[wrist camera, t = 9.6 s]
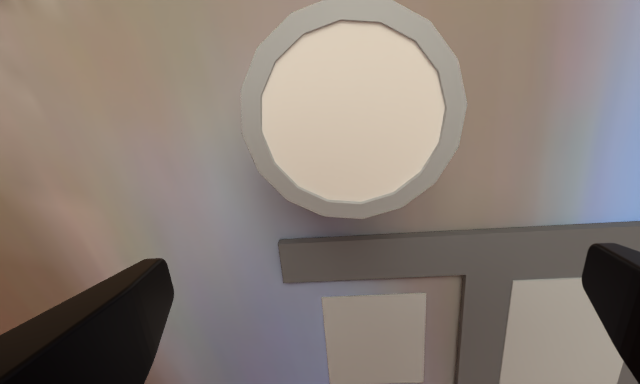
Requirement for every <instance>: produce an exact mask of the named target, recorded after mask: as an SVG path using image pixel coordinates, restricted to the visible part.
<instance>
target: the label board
mask: <svg viewBox="0 0 640 384" xmlns="http://www.w3.org/2000/svg"><path fill="white" fill-rule="evenodd" d="M594 243H617V244H620V245H622V246H625V247H628V248H631V249H634V250H637V251H639V252H640V221H631V222H611V223H592V224H573V225H553V226H534V227H514V228H495V229H475V230H456V231H437V232H417V233H398V234H378V235H359V236H339V237H320V238H301V239H281V240H279V243H278V247H279V254H280V261H281V268H282V275H283V283H295V282H318V281H340V280H363V279H385V278H408V277H430V276H453V275H463V283H462V297H461V310H460V323H459V337H458V350H457V363H456V377H455V384H638V382H637V381H636V379H635V378H634V376H633V375H632V373H631V372H630V370H629V369H628V367H627V366H626V364H625V363H624V361H623V360H622V358H621V356H620V355H619V353H618V351H617V350H616V348H615V346H614V345H613V343H612V341H611V339H610V337H609V335H608V334H607V332H606V330H605V328H604V326H603V324H602V322H601V320H600V319H599V317H598V315H597V313H596V311H595V309H594V307H593V306H592V304H591V302H590V300H589V298H588V296H587V294H586V292H585V291H584V288H583V286H582V273H583V268H584V264H585V260H586V256H587V251H588V249H589V247H590V246H591V245H592V244H594ZM322 307H323V318H324V328H325V338H326V349H327V359H328V370H329V380H330V384H386V383H421V382H423V381H424V350H425V318H426V293H405V294H382V295H358V296H334V297H322Z"/></svg>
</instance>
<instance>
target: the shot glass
mask: <svg viewBox="0 0 640 384" xmlns="http://www.w3.org/2000/svg"><path fill="white" fill-rule="evenodd" d="M466 108H467V100H466V95H465V90H464V85H463V81H462V76H461V71H460V66H459V61H458V58H457V57H456V56H455V54H454V53H453V51H452V50H451V49H450V47H449V46H448V45H447V43H446V42H445V41H444V39H443V38H442V36H441V35H440V34H439V32H438V31H437V30H436V28H435V27H434V25H433V24H432V23H431V21H430V20H428V19H426V18H424V17H422V16H420V15H419V14H417V13H415V12H413V11H411V10H409V9H408V8H406V7H404V6H402V5H400V4H398V3H397V2H395V1H393V0H322V1H320V2H317V3H315V4H312V5H310V6H307V7H304V8H302V9H299V10H297V11H294V12H292V13H291V14H290V15H289V16H288V17H287V18H286V19H285V20H284V21H283V22H282V23H281V24H280V25H279V26H278V27H277V28H276V29H275V30H274V31H273V32H272V33H271V34H270V35H269V36H268V37H267V38H266V39H265V40H264V41H263V42H262V43H261V44H260V45H259V46H258V47H257V50H256V52H255V55H254V57H253V60H252V62H251V65H250V67H249V70H248V73H247V75H246V78H245V80H244V83H243V85H242V88H241V122H242V135H243V138H244V140H245V142H246V144H247V147H248V149H249V151H250V154H251V156H252V158H253V161H254V163H255V165H256V167H257V170H258V172H259V173H260V174H261V175H262V176H263V177H264V178H265V179H266V180H267V181H268V182H269V183H270V184H271V185H272V186H273V187H274V188H275V189H276V190H277V191H278V192H279V193H280V194H281V195H282V196H283V197H284V198H285V199H286V200H287V201H290V202H292V203H294V204H296V205H299V206H301V207H303V208H305V209H308V210H310V211H312V212H314V213H317V214H319V215H321V216H324V217H339V218H355V219H365V218H368V217H372V216H375V215H379V214H382V213H385V212H389V211H392V210H396V209H399V208H402V207H403V206H405V205H406V204H408V203H409V202H410V201H412V200H413V199H414V198H416V197H417V196H418V195H420V194H421V193H423V192H424V191H425V190H427V189H428V188H429V187H431V186H432V185H433V184H435V183H436V181H437V180H438V178H439V177H440V175H441V174H442V172H443V170H444V169H445V167H446V166H447V164H448V163H449V161H450V160H451V158H452V157H453V155H454V154H455V152H456V151H457V149H458V147H459V143H460V138H461V133H462V128H463V123H464V118H465V113H466Z"/></svg>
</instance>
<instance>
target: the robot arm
mask: <svg viewBox="0 0 640 384" xmlns="http://www.w3.org/2000/svg"><path fill="white" fill-rule="evenodd" d="M582 286H583V288H584V291H585V292H586V294H587V296H588V298H589V300H590V302H591V304H592V306H593V307H594V309H595V311H596V313H597V315H598V317H599V319H600V320H601V322H602V324H603V326H604V328H605V330H606V332H607V334H608V335H609V337H610V339H611V341H612V343H613V345H614V346H615V348H616V350H617V351H618V353H619V355H620V356H621V358H622V360H623V361H624V363H625V364H626V366H627V367H628V369H629V370H630V372H631V373H632V375H633V376H634V378H635V379H636V381H637V382H638V384H640V252H639V251H637V250H634V249H631V248H628V247H625V246H622V245H620V244H617V243H594V244H592V245H591V246H590V247H589V249H588V251H587V256H586V260H585V264H584V268H583V273H582ZM173 298H174V289H173V285H172V281H171V277H170V273H169V269H168V265H167V263H166V261H165V260H164V259H162V258H155V259H144V260H142V261H140V262H138V263H136V264H134V265H133V266H131V267H129V268H127V269H125V270H123V271H121V272H119V273H117V274H115V275H114V276H112V277H110V278H108V279H106V280H104V281H102V282H100V283H98V284H97V285H95V286H93V287H91V288H89V289H87V290H85V291H83V292H81V293H79V294H78V295H76V296H74V297H72V298H70V299H68V300H66V301H64V302H62V303H61V304H59V305H57V306H55V307H53V308H51V309H49V310H47V311H45V312H43V313H42V314H40V315H38V316H36V317H34V318H32V319H30V320H28V321H26V322H25V323H23V324H21V325H19V326H17V327H15V328H13V329H11V330H9V331H7V332H6V333H4V334H2V335H0V384H144V383H145V380H146V378H147V376H148V373H149V371H150V369H151V366H152V364H153V361H154V358H155V355H156V353H157V350H158V346H159V343H160V340H161V337H162V334H163V331H164V327H165V324H166V321H167V318H168V315H169V312H170V308H171V305H172V302H173Z"/></svg>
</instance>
